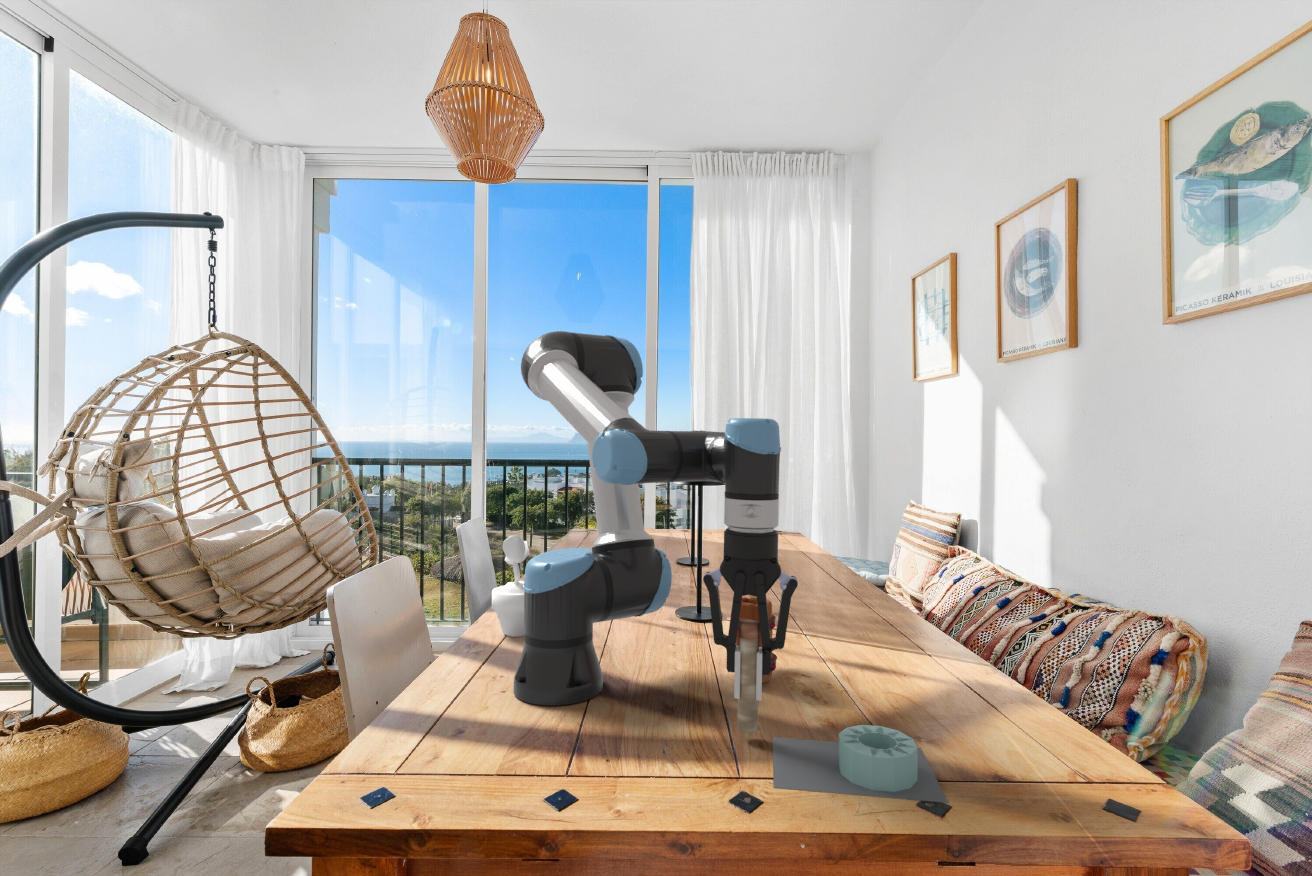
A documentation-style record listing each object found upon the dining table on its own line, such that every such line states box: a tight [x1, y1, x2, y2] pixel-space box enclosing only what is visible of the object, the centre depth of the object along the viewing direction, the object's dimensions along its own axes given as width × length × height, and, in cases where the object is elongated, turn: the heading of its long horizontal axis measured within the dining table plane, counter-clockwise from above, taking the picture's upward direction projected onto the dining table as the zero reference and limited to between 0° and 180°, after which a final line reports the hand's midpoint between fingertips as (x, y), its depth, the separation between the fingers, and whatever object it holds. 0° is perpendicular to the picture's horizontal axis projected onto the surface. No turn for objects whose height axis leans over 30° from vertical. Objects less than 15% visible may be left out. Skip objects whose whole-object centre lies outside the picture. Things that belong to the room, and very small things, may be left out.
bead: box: [838, 724, 919, 792], centre depth 84 cm, size 9×9×4 cm
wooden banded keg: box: [736, 595, 778, 684], centre depth 121 cm, size 15×8×15 cm, turn 168°
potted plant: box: [491, 523, 541, 638], centre depth 148 cm, size 13×12×25 cm
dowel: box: [736, 620, 760, 734], centre depth 93 cm, size 3×3×15 cm
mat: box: [771, 736, 949, 804], centre depth 86 cm, size 20×14×1 cm
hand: (748, 695), depth 93 cm, fingers closed on dowel, 2 cm apart
